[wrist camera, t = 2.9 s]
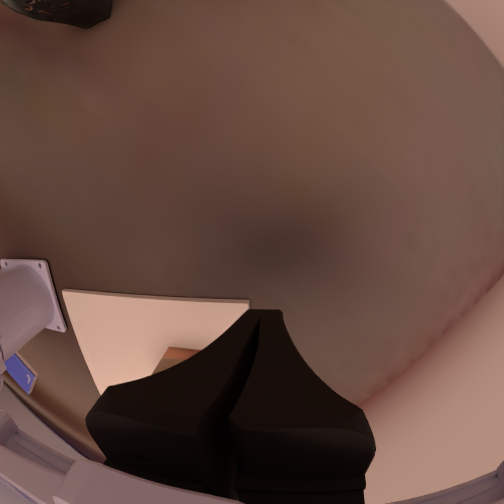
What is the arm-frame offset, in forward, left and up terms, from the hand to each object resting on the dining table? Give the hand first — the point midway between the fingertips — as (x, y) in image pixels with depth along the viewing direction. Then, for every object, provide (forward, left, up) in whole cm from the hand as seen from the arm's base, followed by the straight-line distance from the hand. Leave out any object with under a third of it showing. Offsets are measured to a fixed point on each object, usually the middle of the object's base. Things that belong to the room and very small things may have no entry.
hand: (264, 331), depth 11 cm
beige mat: (-11, -11, -10) cm, 18 cm away
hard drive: (-41, -17, -10) cm, 45 cm away
